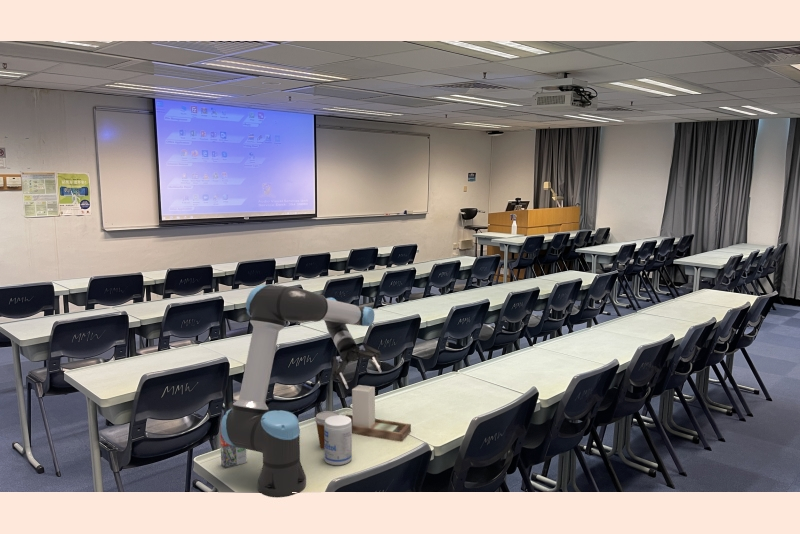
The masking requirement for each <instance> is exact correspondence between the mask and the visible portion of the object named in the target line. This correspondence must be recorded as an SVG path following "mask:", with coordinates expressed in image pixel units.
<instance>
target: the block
mask: <svg viewBox="0 0 800 534" xmlns="http://www.w3.org/2000/svg"><path fill="white" fill-rule="evenodd" d="M375 389H376V387H375V386H370V385H363V384H362V385H361V384H358V385H356V386H355V387H353V388H352V389H351V404H352V405H351V406H352V411H351V415H352V418H353V425H355V426H361V427H367V428H371V427H372V426H373V425H374V424H375V419H376V397H375V396H376V392H375V391H376V390H375Z"/></svg>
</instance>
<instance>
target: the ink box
mask: <svg viewBox="0 0 800 534" xmlns="http://www.w3.org/2000/svg"><path fill="white" fill-rule="evenodd" d="M219 426H220V429H219V431H220V438H219V440H220V461H221V462H220V463H221V466H222V467H223V468H224V469H226V468H227V469H228V468H230V467H235V466H238V465H242V464H246V463H247V462H248V461H247V449H244V448H237V447H235V446H232V445H229V444H227V443H226V442H225V441H224V438H223V437H222V434H221V423H220V424H219Z"/></svg>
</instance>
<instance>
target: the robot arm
mask: <svg viewBox="0 0 800 534" xmlns="http://www.w3.org/2000/svg"><path fill="white" fill-rule="evenodd" d="M245 309H246V314H247V315H248V316H249V317H250V319H249V323H250V324H251V325H252V332H251V337H250V341H249V342H250V343H249V346H248V347H249V348H248V353H247V355H246V356H247V358H246V363H245V366H244V367H245V368H244V373H243V378H242V381H241V388H240V392H239V397H238V399H237V400H236V401H234V402H233V403H232V407H231V408H230V409H228V410H226V412H225V414H223V416H222V418H221V422H220V424H221V432H220V435H221V434H222V437H223V438H224V441H225V442H226V443H227V444H229V445H232V446H235V447H237V448H244V449H246V450H250V451H253V452H258V453H261V454H262V467H261V469H260V474H259V476H258V480H257V490H258V492H259V493H260V492H261V493H260V494H261V495H263V496H266V497H268V498H276V499H277V498H285V497H286V498H287V497H291V496H294V495H296V494H298V493H292V492H299V493H300V492H301V491H303V490H304V489H305V488H306V486H307V476H306V472H305V470H304V468H303V465H302V463H301V449H300V448H301V445H300V441H301V440H300V438H301V437H300V433H301V429H300V423H299V421H300V420H299V419H298V417H297V416H296V415H295V414H294V413H293V412H291V411H288V410H281V409H280V410H276V409H275V410H269V407H268V406H267V404H266V399H267V395H268V389H269V384H270V378H271V373H272V369H273V364H274V358H275V354H276V353H275V352H276V348H277V344H278V338H279V332H280V331H281V330H283V329H284V328H285V325H286V322H289V323H291V322H293V323H296V322H297V323H298V322H320V321H324V323H325V326H326V329H327V332H328V334H329V335H330V337H331V339H332V340H333V343H334V345H335V347H336V349H337V351H338V353H339V355H338V356H335V355H334V356H333V357H332V359H333V363H332V368H331V372H330V373H331V374H330V375H331V377H332V379H333V380H336V379H338V381H339V382H340V383H341V384H344V386H345V388H346V389H347V390H348V389H349V385H348V383H347V381H346V379H345V377H344V371H345V369H346V367H347V366H348V364H349V363H351V362H353V361H354V360H357V359H358V358H359V359H366V360H370V361H373V364H374V365H375V367H376V369H377V370H378V372H379V374H381V373H382V369H381V366H380V365H381V361H380V358H381V357H382V354H381V351H380V350H378V349H375V348H373V347H371V346H369V345H367V344H366V343H365V342H362V343H361V345H360V346H359V345H357V343H356V341H355V340H354V337H353V335H352V334H351V332H350V331H349V329H348V327H347V325H352V326H361V327H371V326H372V325H373V323H374V320H375V310H374V309H373V308H372V307H368V306H362V305H361V306H360V305H355V304H353V303H352V304H351V303H348V302H343V301H338V300H337V299H335V298H334V297H327V298H326V297H325V296H324V295H323V294H320V293H316V292H314V291H310V290H306V289H303V288H300V287H296V286H283V285H276V284H275V285H274V284H261V285H257V286H256V287H254V288H253V289H252V290H251V291H250V293H248V296H247V299H246V302H245ZM340 361H341V362H340ZM339 363H340V364H339Z"/></svg>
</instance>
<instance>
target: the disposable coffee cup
mask: <svg viewBox="0 0 800 534" xmlns="http://www.w3.org/2000/svg"><path fill="white" fill-rule="evenodd" d="M336 415H341V414H340V413H339V412H337V411H334V410H333V411H332V410H324V411H320V412H318V413H317V414H316V415H315V418H314V421H315V423H316V430H317V435H318V442H319V443H318V444H319V447H320V449H322V450H324V425H325V420H326V419H327V418H328V417H331V416H336Z"/></svg>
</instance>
